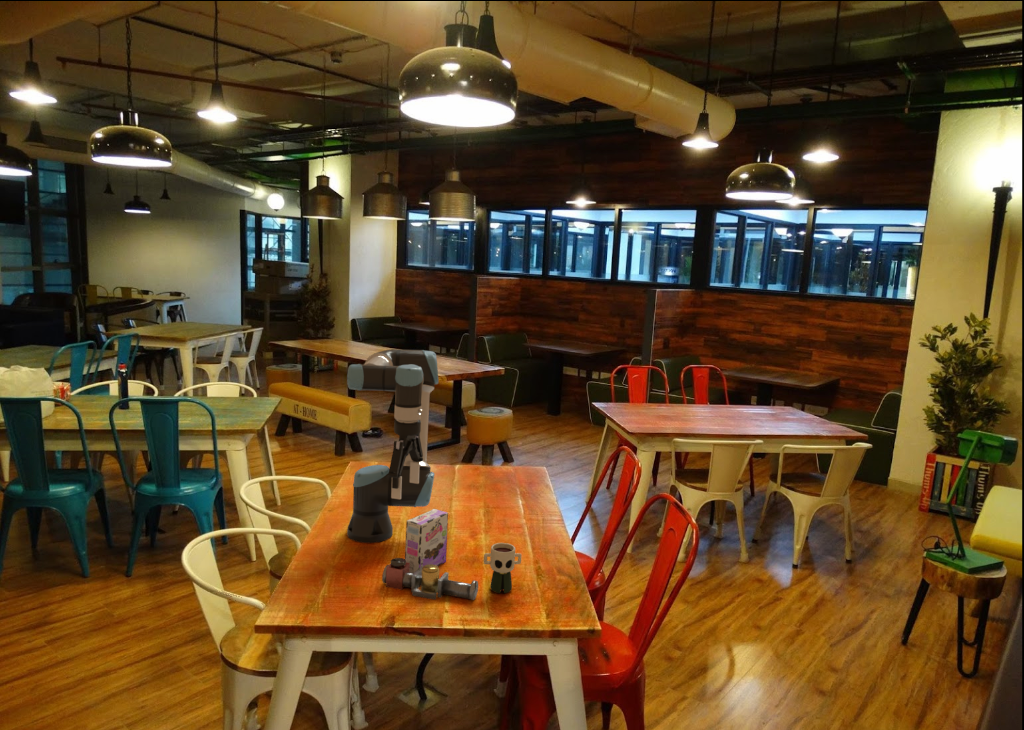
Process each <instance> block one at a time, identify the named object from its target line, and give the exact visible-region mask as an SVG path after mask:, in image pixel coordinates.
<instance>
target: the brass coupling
mask: <svg viewBox="0 0 1024 730" xmlns="http://www.w3.org/2000/svg"><path fill="white" fill-rule="evenodd" d="M439 579H440V568H439V566H437V565H434V564H428V565H425V566H423V568H422V578H421V586H420V590H423V591H428V592H433V593H436V594H438V580H439Z"/></svg>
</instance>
